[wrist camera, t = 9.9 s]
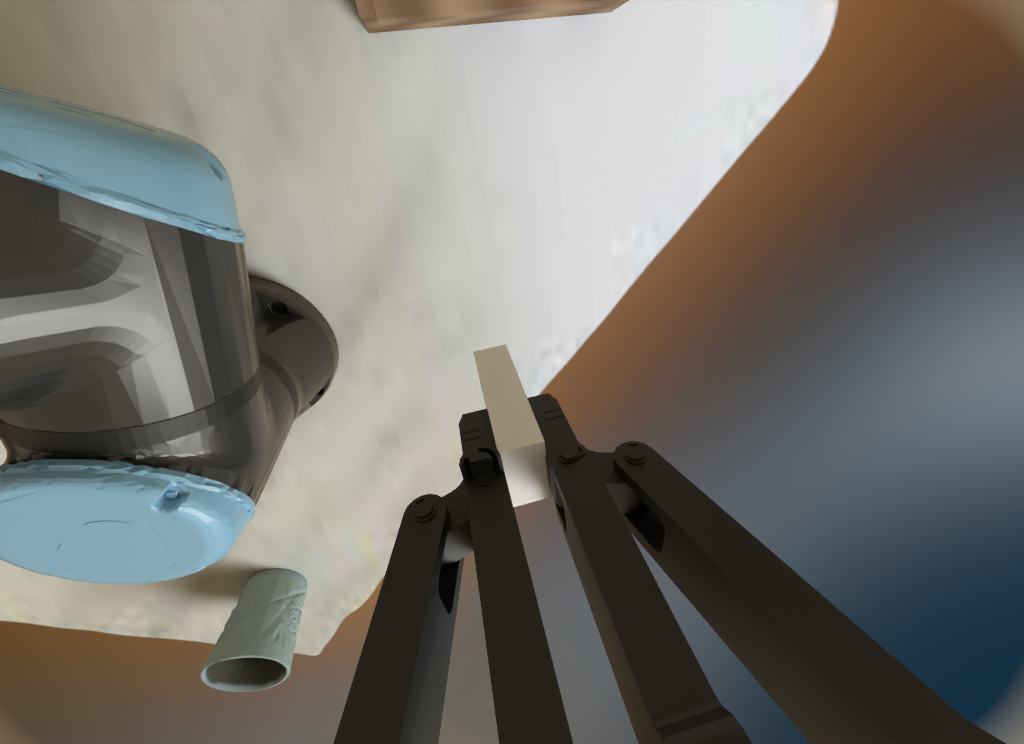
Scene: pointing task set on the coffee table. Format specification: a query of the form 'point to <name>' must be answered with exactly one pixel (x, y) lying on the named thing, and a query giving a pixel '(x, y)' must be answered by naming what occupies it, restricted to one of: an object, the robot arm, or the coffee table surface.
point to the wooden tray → (468, 11)
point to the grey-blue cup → (258, 634)
